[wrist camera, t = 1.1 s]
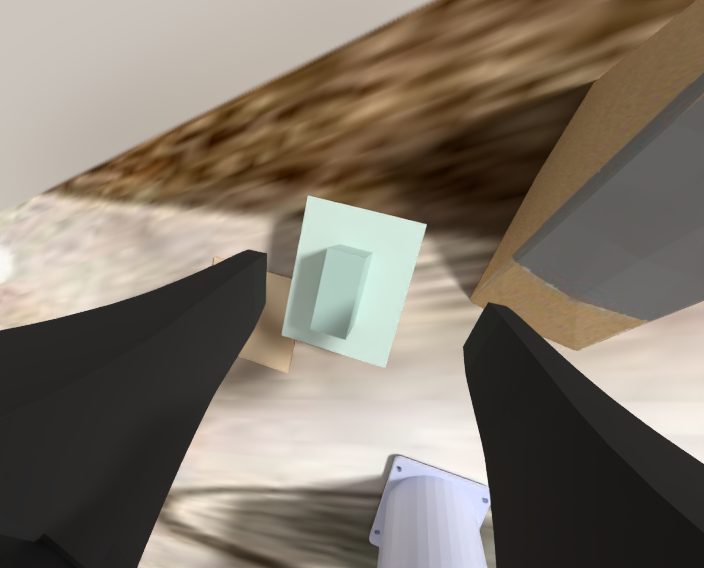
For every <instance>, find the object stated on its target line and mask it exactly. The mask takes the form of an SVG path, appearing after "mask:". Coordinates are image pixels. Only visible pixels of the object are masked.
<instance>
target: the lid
mask: <svg viewBox="0 0 704 568" xmlns="http://www.w3.org/2000/svg"><path fill="white" fill-rule="evenodd" d="M426 226H427V224H423V223H419V222H415V221H411V220H407V219H402V218H398V217H394V216H390V215H386V214H382V213H378V212H374V211H369V210H365V209H361V208H357V207H353V206H349V205H345V204H340V203H336V202H332V201H328V200H324V199H320V198H316V197H312V196H308V198H307V204H306V209H305V214H304V219H303V225H302V230H301V235H300V240H299V246H298V251H297V256H296V261H295V267H294V272H293V277H292V282H291V287H290V293H289V298H288V303H287V308H286V314H285V319H284V324H283V329H282V336H285V337H289V338H292V339H295V340H298V341H301V342H304V343H308V344H311V345H314V346H317V347H320V348H323V349H326V350H330V351H333V352H336V353H339V354H342V355H345V356H349V357H352V358H355V359H358V360H361V361H364V362H368V363H371V364H374V365H377V366H380V367H383V368H385V367H386V363H387V360H388V356H389V353H390V350H391V346H392V343H393V339H394V336H395V332H396V329H397V326H398V322H399V319H400V315H401V312H402V308H403V305H404V302H405V298H406V295H407V291H408V288H409V284H410V281H411V278H412V274H413V271H414V267H415V264H416V260H417V257H418V254H419V250H420V247H421V243H422V240H423V236H424V233H425V229H426Z"/></svg>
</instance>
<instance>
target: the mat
mask: <svg viewBox="0 0 704 568" xmlns="http://www.w3.org/2000/svg"><path fill="white" fill-rule="evenodd" d="M223 260H225V259H222V258H218V257H214V263H213V265H215V264H217V263H219V262H221V261H223ZM291 282H292V278H288V277H285V276H281V275H278V274H274V273H271V272H267V277H266V304H265V307H264V309H263V311H262V314H261V316H260V318H259V321H258V323H257V325H256V327H255V329H254V331H253V332H252V334H251V336H250V337H249V339H248V341H247V342H246V344H245V345H244V347H243V349H242V350H241V352H240V354H239V355H238V357H241V358H244V359H247V360H250V361H253V362H256V363H259V364H262V365H265V366H268V367H271V368H274V369H277V370H280V371H283V372H286V373H288V372H289V367H290V362H291V357H292V353H293V348H294V343H295V339H292V338H289V337H285V336H282V329H283V324H284V319H285V314H286V308H287V303H288V298H289V293H290V287H291Z"/></svg>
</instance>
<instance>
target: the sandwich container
mask: <svg viewBox="0 0 704 568" xmlns="http://www.w3.org/2000/svg"><path fill="white" fill-rule="evenodd" d="M470 301H471V302H473V303H474V304H476V305H478V306H480V307H482V308H485V307H486V305H487V303H488V302H490V303H495V304H499V305H504V306H507V307H509V308H510V309H511V310H513V311H514V312H515V313H516V314H517V315H518V316H520V317H521V318H522V319H523V320H524V321H525V322H526V323H527V324H528V325H529V326H531V327H532V328H533V329H534V330H535V331H536V332H537V333H538V334H539V335H540V336H542V337H544V338H547V339H549V340H551V341H554V342H556V343H558V344H561V345H563V346H565V347H568V348H570V349H572V350H576V351H579V350H581V349H584V348H586V347H589V346H591V345H594V344H596V343H598V342H601V341H603V340H606V339H608V338H611V337H613V336H616V335H618V334H621V333H623V332H626V331H628V330H630V329H633V328H635V327H638V326H640V325H643V324H646V323H648V322H651V321H653V320H656V319H658V318H661V317H664V316H666V315H669V314H671V313H674V312H676V311H679V310H682V309H684V308H687V307H689V306H692V305H694V304H697V303H700V302H702V301H704V0H696V1H695V2H694V3H693V4H691V5H690V6H689V7H688V8H686V9H685V10H684V11H683V12H681V13H680V14H679V15H678V16H676V17H675V18H674V19H673V20H671V21H670V22H669V23H668V24H666V25H665V26H664V27H663V28H661V29H660V30H659V31H658V32H656V33H655V34H654V35H653V36H651V37H650V38H649V39H648V40H646V41H645V42H644V43H643V44H641V45H640V46H639V47H638V48H636V49H635V50H634V51H633V52H631V53H630V54H629V55H628V56H626V57H625V58H624V59H623V60H622V61H620V62H619V63H618V64H617V65H615V66H614V67H613V68H612V69H610V70H609V71H608V72H607V73H605V74H604V75H603V76H602V77H600V78H599V79H598V80H597V81H595V82H594V83H593V85H592V86H591V88H590V90H589V91H588V93H587V95H586V96H585V98H584V99H583V101H582V103H581V104H580V106H579V108H578V109H577V111H576V113H575V114H574V116H573V118H572V119H571V121H570V122H569V124H568V126H567V127H566V129H565V131H564V132H563V134H562V136H561V137H560V139H559V140H558V142H557V144H556V145H555V147H554V149H553V150H552V152H551V154H550V155H549V157H548V158H547V160H546V162H545V163H544V165H543V167H542V168H541V170H540V172H539V173H538V175H537V177H536V178H535V180H534V182H533V184H532V186H531V188H530V189H529V191H528V193H527V195H526V197H525V199H524V200H523V202H522V204H521V206H520V208H519V210H518V211H517V213H516V215H515V217H514V219H513V221H512V222H511V224H510V226H509V228H508V230H507V232H506V233H505V235H504V237H503V239H502V241H501V243H500V244H499V246H498V248H497V250H496V252H495V254H494V255H493V257H492V259H491V261H490V263H489V265H488V266H487V268H486V270H485V272H484V274H483V276H482V277H481V279H480V281H479V283H478V285H477V287H476V288H475V290H474V292H473V294H472V296H471V298H470Z"/></svg>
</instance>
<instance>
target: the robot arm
mask: <svg viewBox="0 0 704 568" xmlns="http://www.w3.org/2000/svg"><path fill="white" fill-rule="evenodd" d="M266 277H267V253H262V252H257V251H253V250H246V251H243V252H241V253H238V254H236V255H234V256H232V257H230V258H228V259H225V260H223V261H221V262H219V263H217V264H215V265H213V266H210V267H208V268H206V269H204V270H202V271H199V272H197V273H195V274H193V275H190V276H188V277H185V278H183V279H180V280H178V281H176V282H173V283H171V284H168V285H166V286H163V287H161V288H158V289H156V290H153V291H150V292H147V293H144V294H142V295H139V296H136V297H132V298H129V299H126V300H123V301H120V302H117V303H114V304H110V305H107V306H103V307H99V308H95V309H92V310H88V311H84V312H80V313H76V314H72V315H69V316H65V317H61V318H57V319H53V320H48V321H44V322H39V323H34V324H30V325H25V326H21V327H15V328H10V329H5V330H0V568H137V567H138V564H139V562H140V559H141V557H142V554H143V552H144V549H145V547H146V544H147V542H148V540H149V537H150V535H151V532H152V530H153V528H154V525H155V523H156V520H157V518H158V516H159V513H160V511H161V508H162V506H163V504H164V501H165V499H166V497H167V495H168V492H169V490H170V488H171V485H172V483H173V481H174V479H175V476H176V474H177V472H178V470H179V467H180V465H181V463H182V461H183V459H184V456H185V454H186V452H187V450H188V448H189V446H190V444H191V441H192V439H193V437H194V435H195V433H196V431H197V429H198V427H199V424H200V422H201V420H202V418H203V416H204V414H205V412H206V410H207V408H208V406H209V404H210V402H211V400H212V398H213V396H214V395H215V393H216V391H217V389H218V387H219V386H220V384H221V382H222V381H223V379H224V378H225V376H226V374H227V373H228V371H229V370H230V368H231V366H232V365H233V363H234V362H235V360H236V358H237V357H238V355H239V354H240V352H241V350H242V349H243V347H244V345H245V344H246V342H247V341H248V339H249V337H250V336H251V334H252V332H253V331H254V329H255V327H256V325H257V323H258V321H259V318H260V316H261V314H262V311H263V309H264V307H265V304H266ZM463 351H464V364H465V374H466V379H467V383H468V388H469V392H470V396H471V400H472V405H473V409H474V413H475V417H476V421H477V425H478V429H479V433H480V438H481V442H482V447H483V452H484V457H485V463H486V471H487V478H488V485H489V487H487V486H484V485H481V484H478V483H476V482H473V481H470V480H467V479H464V478H462V477H459V476H456V475H453V474H450V473H448V472H445V471H442V470H439V469H436V468H434V467H431V466H428V465H425V464H422V463H420V462H417V461H414V460H411V459H408V458H406V457H403V456H397V457H395V459H394V462H393V465H392V468H391V471H390V474H389V477H388V480H387V483H386V486H385V489H384V492H383V495H382V498H381V501H380V504H379V508H378V511H377V514H376V517H375V520H374V523H373V526H372V529H371V532H370V535H369V541H370V543H371V544H373V545H375V546H378V547H379V555H378V564H377V568H487V565H486V560H485V556H484V551H483V546H482V541H481V537H480V532H479V529H480V526H481V524H482V522H483V520H484V517H485V515H486V513H487V511H488V508H489V506H490V504H491V511H492V520H493V530H494V542H495V555H496V568H704V464H703V463H701V462H700V461H698V460H697V459H696V458H694V457H693V456H691V455H690V454H688V453H687V452H685V451H684V450H682V449H681V448H679V447H678V446H676V445H675V444H673V443H672V442H671V441H669V440H668V439H666V438H665V437H663V436H662V435H660V434H659V433H658V432H656V431H655V430H653V429H652V428H651V427H649V426H648V425H646V424H645V423H644V422H642V421H641V420H640V419H638V418H637V417H636V416H634V415H633V414H632V413H630V412H629V411H628V410H627V409H625V408H624V407H623V406H621V405H620V404H619V403H617V402H616V401H615V400H613V399H612V398H611V397H610V396H608V395H607V394H606V393H605V392H603V391H602V390H601V389H600V388H599V387H597V386H596V385H595V384H594V383H593V382H592V381H590V380H589V379H588V378H587V377H586V376H584V375H583V374H582V373H581V372H580V371H579V370H577V369H576V368H575V367H574V366H573V365H572V364H571V363H570V362H568V361H567V360H566V359H565V358H564V357H563V356H562V355H561V354H560V353H558V352H557V351H556V350H555V349H554V348H553V347H552V346H551V345H550V344H549V343H548V342H547V341H546V340H544V339H543V338H542V337H541V336H540V335H539V334H538V333H537V332H536V331H535V330H534V329H533V328H532V327H531V326H529V325H528V324H527V323H526V322H525V321H524V320H523V319H522V318H521V317H520V316H518V315H517V314H516V313H515V312H514V311H513V310H511V309H510V308H509V307H507V306H504V305H499V304H495V303H490V302H488V303H487V305H486V307H485V308H484V310H483V312H482V314H481V316H480V317H479V319H478V321H477V323H476V324H475V326H474V328H473V330H472V332H471V333H470V335H469V337H468V339H467V341H466V342H465V344H464V346H463ZM397 466H399V467H401V468H397ZM482 498H486V499H482Z"/></svg>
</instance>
